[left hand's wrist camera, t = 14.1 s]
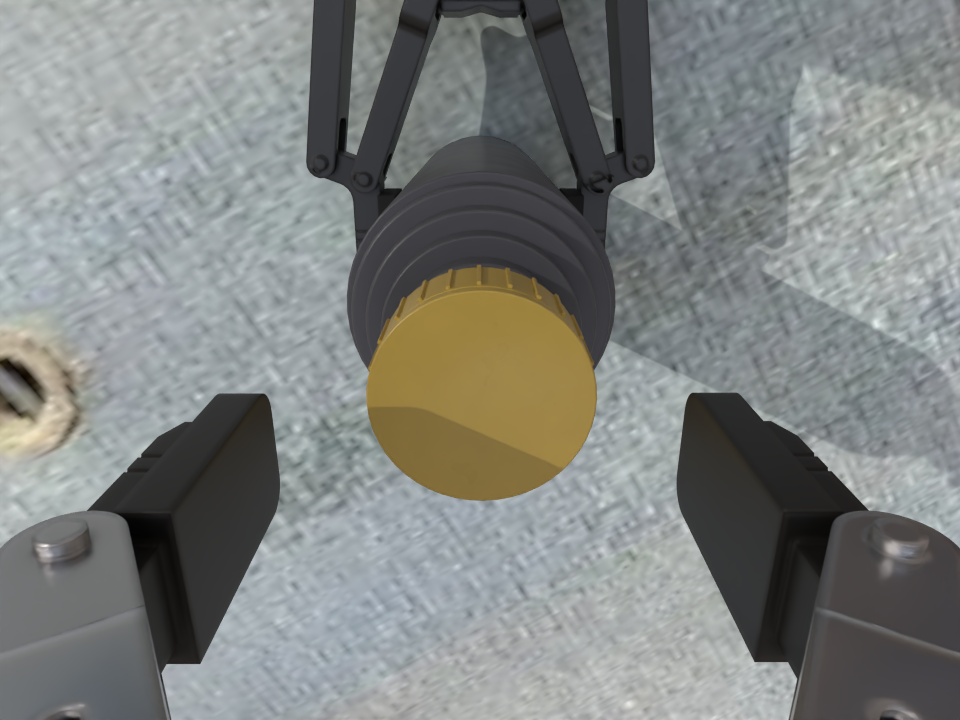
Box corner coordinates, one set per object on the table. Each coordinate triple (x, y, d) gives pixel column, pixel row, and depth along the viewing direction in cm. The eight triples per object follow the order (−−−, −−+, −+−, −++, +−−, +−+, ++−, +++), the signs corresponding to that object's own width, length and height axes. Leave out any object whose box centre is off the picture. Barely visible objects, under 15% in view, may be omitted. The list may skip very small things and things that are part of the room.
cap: (501, 490, 16) (505, 540, 14) (338, 386, 15) (319, 425, 13) (628, 344, 14) (648, 379, 13) (457, 219, 13) (454, 237, 12)
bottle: (494, 298, 38) (517, 605, 15) (387, 221, 37) (223, 430, 13) (575, 192, 36) (750, 355, 13) (465, 106, 35) (434, 113, 11)
